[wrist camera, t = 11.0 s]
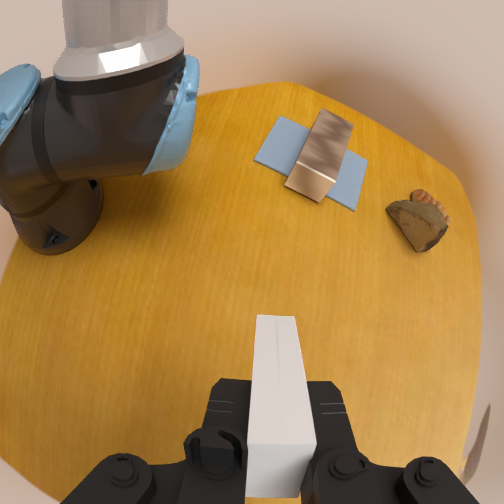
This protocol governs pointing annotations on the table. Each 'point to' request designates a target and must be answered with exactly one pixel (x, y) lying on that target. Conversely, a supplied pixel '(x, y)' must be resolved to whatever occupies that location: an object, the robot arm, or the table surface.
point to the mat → (288, 148)
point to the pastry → (426, 197)
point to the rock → (419, 222)
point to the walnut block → (320, 156)
